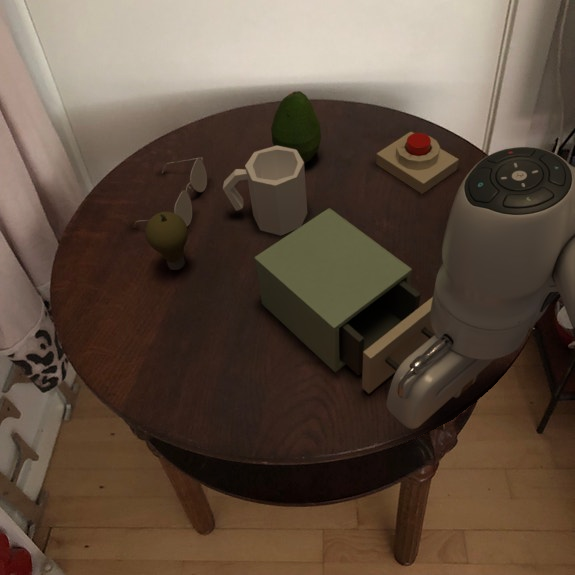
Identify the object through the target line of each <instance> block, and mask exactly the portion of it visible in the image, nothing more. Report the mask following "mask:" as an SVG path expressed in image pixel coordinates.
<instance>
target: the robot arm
mask: <svg viewBox="0 0 575 575" xmlns="http://www.w3.org/2000/svg"><path fill="white" fill-rule="evenodd" d="M441 260H442V264H441V266H440V267H439V269H438V272H437V274H436V278H435V282H434V289H433V294H432V297H433V299H432V305H431V310H430V320H431V325H432V328H433V330H434V332H435V335H434V336H433V337H432V338H430V339H429V340H428V341H427V342H425V343H424V344H423V345H422V346H421V347H419V348H418V349H417V350H416V351H415V352H413V353H412V354H411V355H410V356H409V357H407V358H406V359H405V360H404V361H403V362H402V364H401V365H400V366H399V368H398V369H397V371H396V372H395V373H394V375H393V378H392V380H391V383H390V385H389V386H390V387H389V389H388V393H387V398H386V404H385V405H386V409H387V410H388V412H389V413H390V414H391V415H392V416H393V417H394V418H395V419H396V420H397V421H399V422H400V423H401V424H402V425H403V426H404V427H405V428H407V429H410V430H416V429H418V428H420V426H422V425H423V424H424V423H425V422H426V421H427V420H428V419H430V418H431V417H433V415H434V414H435V413H436V412H437V411H438V410H439V409H441V408H442V407H443V406H444V405H445V404H447V402H449V400H451V399H452V398H455V399H458V398H459V397H460V396H461V395H462V394H463V393H464V392H466V390H468V388H470V387H471V386H472V385H473V384H475V382H476V380H477V377H478V375H479V374H480V373H481V372H482V371H483V370H484V369H486V367H488V366H489V365H490V364H491V363H492V362H493V361H495V360H496V359H501V358H503V357H506V356H509V355H510V354H512V353H514V352H515V351H517V350H518V349H519V348H520V347H521V346H522V344H523V343H524V342H525V340H526V338H527V336H528V333H529V331H530V329H532V328H533V327H534V325H535V324H536V323H537V322H538V321H539V320H540V319H541V318H542V316H544V314H545V313H546V311H547V309H548V307H549V306H550V304H551V303H552V302H553V301H554V300H555V299H556V298H557V297H558V296H559V297H560V298H561V301H562V304H563V307H564V309H565V312H566V314H567V317H568V319H569V322H570V325H571V328H572V336H573V339H574V341H575V166H573V165H571V164H570V163H569V162H568V161H567V160H565V159H564V158H563V157H561V156H560V155H559V154H556V153H554V152H552V151H550V150H547V149H543V148H538V147H529V146H517V147H510V148H504V149H501V150H498V151H495V152H492V153H491V154H489V155H487V156H485V157H484V158H481V160H480V161H478V162H477V163H476V164H475V165H474V166H473V167H472V168H471V169H470V170H469V172H468V173H467V175H466V176H465V177H464V179H463V180H462V181H461V184H460V185H459V187H458V189H457V192H456V194H455V196H454V199H453V201H452V205H451V208H450V211H449V215H448V218H447V222H446V226H445V230H444V235H443V240H442V245H441Z"/></svg>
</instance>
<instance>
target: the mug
mask: <svg viewBox="0 0 575 575" xmlns="http://www.w3.org/2000/svg"><path fill="white" fill-rule="evenodd" d="M244 167H245V168H243V169H242V168H235V169H234V171H233V172H232V173H230V174H229V175H228V177H226V178H225V179H224V181H223V185H222V190H223V192H224V194H225V195H226V197H227V199H228V200H229V202H230V204H231V205H232V207H233V208H234V210H235V212H237V211H240V210H242V209H243V207H244V205H245V204H244V198H243V197H242V195H241V194H240V192H239V191H238V190H237V188H236V187H235V186H236V185H237V183H239V181H247V186H248V191H249V197H250V203H251V211H252V216H253V218H254V221H255V223H256V224H257V227H258V229H259V231H262V232H265V233H269V234H273V235H277V236H281V237H282V236H284V235H286V234H288V233H289V234H290V233H292V232H294V231H295V230H297V229H298V228H300V227H301V226H303V225H304V224H303V223H304V222H305V219H306V217H307V216H308V202H307V201H308V200H307V188H306V187H307V186H306V185H307V184H306V173H305V172H306V170H305V163H304V162H303V160H302V158H301V157H300V155H299V153H298V151H297V150H295V149H291V148H286V147H282V146H277V145H276V146H274V145H273V146H270V147H266V148H263V149H259V150H256V151H254V152H253V153H252V155H251V156H250V157H249V159H248V161H247V162H246V163H245V165H244Z"/></svg>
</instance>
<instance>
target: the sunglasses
mask: <svg viewBox="0 0 575 575" xmlns="http://www.w3.org/2000/svg"><path fill="white" fill-rule="evenodd" d="M189 161H194V163H193V166H192V169H191V171H190V176H189V182H188V183H187V184H186V187H185V190H181V192H180V193H179V196H178V198H177V200H176V202H175V204H174V210H173V211H174V212H173V213H175V214H177V215H179V216H180V217H181V218H182V219H183V220H184V222H185V224H186V226H187V227H188V226H190V225H191V222H192V219H193V205H192V200H191V197H190V195H189V193H188V189H189V190H190V191H191V192H192V193H194V192H195V191H196V192H197V193H203V192H205V190H206V189H207V185H208V174H207V169H206V167H205V164H204V158H203V157H196V158H190V159H189V158H188V159H184V160H178V161H177V163H180V162H189ZM175 163H176V161H171V162H167V163H165V165H164V166H163V168H162V171H161V175H162V174H164V172H165V169H166V166H168V165H171V164H175ZM190 186H191V187H190ZM149 220H150V219H141V220H136V221H135V223H134V225H133V229H136V226H137V223H141V222H149Z"/></svg>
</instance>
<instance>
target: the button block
mask: <svg viewBox="0 0 575 575" xmlns="http://www.w3.org/2000/svg"><path fill="white" fill-rule="evenodd" d="M414 133H415V132H413V131H410V132H408V133H406V134H405V135H403V136H401V137H400V138H399V139H397V140H396V141H394V142H392V143H390V144H389V145H387V146H386V147H384V148H383V149H381V150H380V151H378V152H376V154H375V156H376V157H375V165H377V167H380V168H381V169H382V170H384V171H385V172H387V173H389V174H390V175H391V176H393V177H395V178H396V179H398V180H399V181H401V182H403V183H404V184H406V185H407V186H409V187H410V188H412V189H413V190H414V191H416V192H418V193H419V194H420V195H424V194H425V193H426V192H428V191H429V190H430V189H432V188H433V187H435V186H436V185H438V184H439V183H440V182H442V181H443V180H445V179H446V178H448V177H449V176H451V175H452V174H454V173H455V172H456V171H457V170H458V165H459V160H460V159H459V158H457V157H455V156H454V155H452V154H451V153H448V152H447V151H446V150H443V149H442V148H441V146H440V144H439V142H438V140H436V139H435V138H434V137H432V136H430V135H428V134H426V135H427V136H429V137H430V139H431V144H430V151H429V153H428V154H426V155H423V156H415V155H411V154H409V153H408V152H407V150H406V145H407V138H408V137H409V136H410V135H412V134H414Z"/></svg>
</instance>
